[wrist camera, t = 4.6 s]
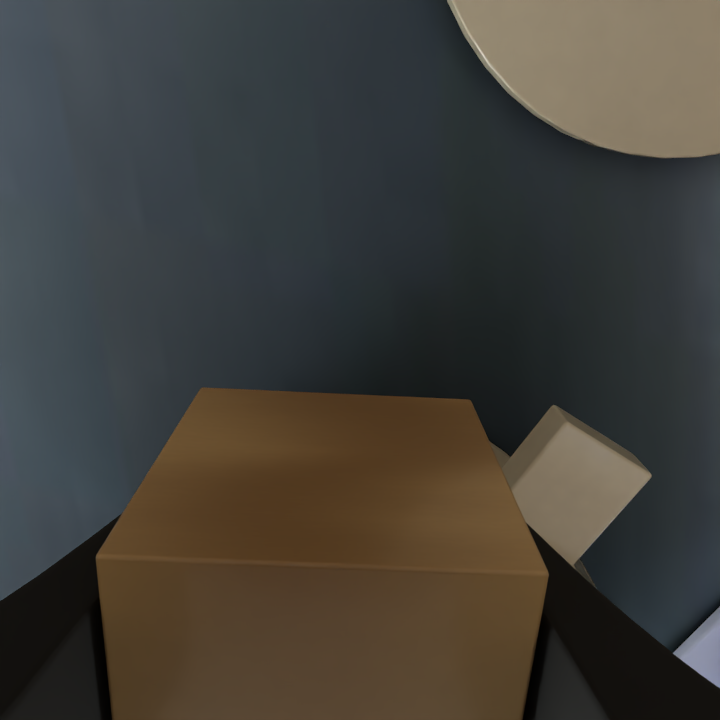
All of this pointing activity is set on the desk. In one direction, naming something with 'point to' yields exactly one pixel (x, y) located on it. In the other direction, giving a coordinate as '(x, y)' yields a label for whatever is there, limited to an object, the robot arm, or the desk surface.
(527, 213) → the desk surface
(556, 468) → the pot
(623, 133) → the lid
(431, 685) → the block
